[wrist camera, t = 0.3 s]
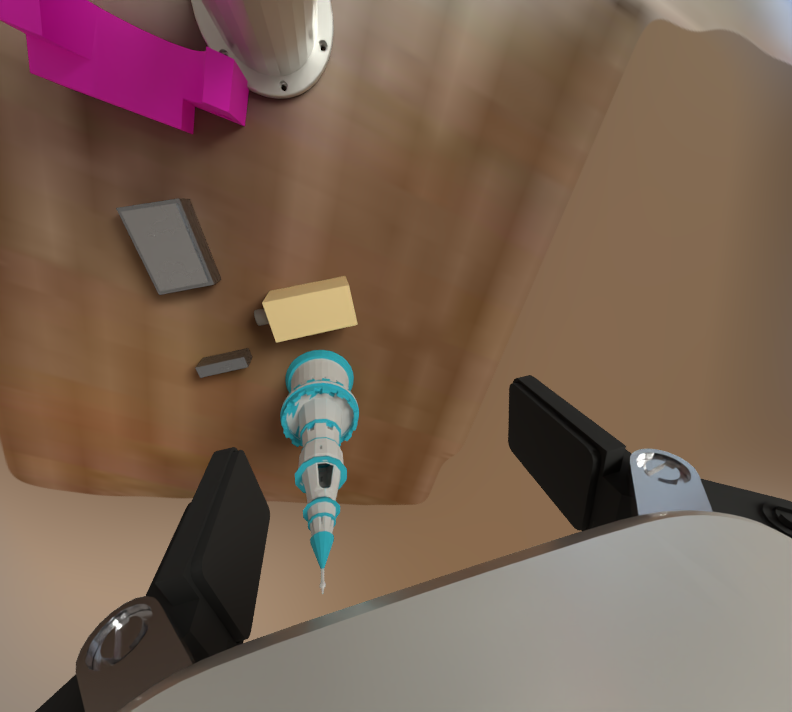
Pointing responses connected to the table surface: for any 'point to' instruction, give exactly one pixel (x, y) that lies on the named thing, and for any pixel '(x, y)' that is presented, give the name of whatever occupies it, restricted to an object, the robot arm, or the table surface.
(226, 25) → the robot arm
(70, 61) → the toy block
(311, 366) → the model tower
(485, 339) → the table surface
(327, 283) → the yellow rectangular block
